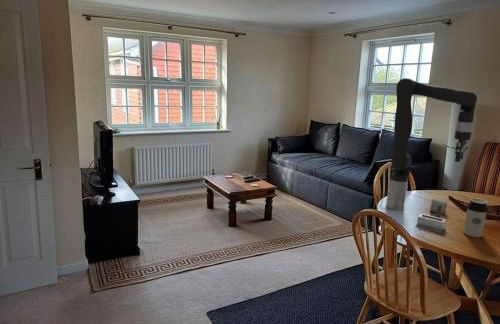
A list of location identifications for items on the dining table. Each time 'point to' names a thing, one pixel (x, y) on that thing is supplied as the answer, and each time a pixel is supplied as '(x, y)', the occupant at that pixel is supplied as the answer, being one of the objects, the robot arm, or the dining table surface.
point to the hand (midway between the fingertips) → (458, 160)
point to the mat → (428, 228)
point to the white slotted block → (431, 222)
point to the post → (439, 211)
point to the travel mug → (475, 217)
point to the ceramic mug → (435, 205)
